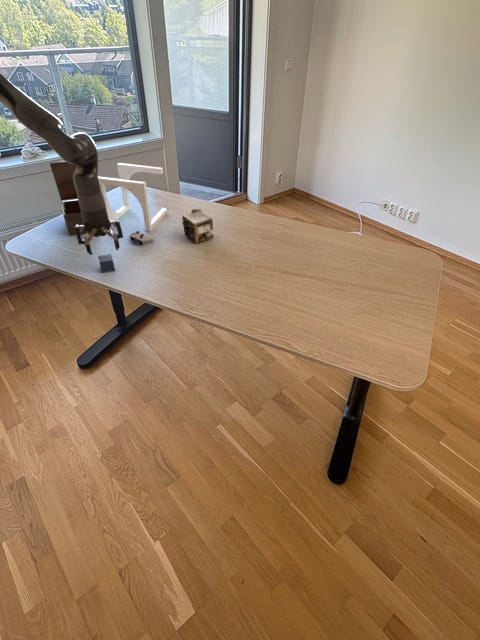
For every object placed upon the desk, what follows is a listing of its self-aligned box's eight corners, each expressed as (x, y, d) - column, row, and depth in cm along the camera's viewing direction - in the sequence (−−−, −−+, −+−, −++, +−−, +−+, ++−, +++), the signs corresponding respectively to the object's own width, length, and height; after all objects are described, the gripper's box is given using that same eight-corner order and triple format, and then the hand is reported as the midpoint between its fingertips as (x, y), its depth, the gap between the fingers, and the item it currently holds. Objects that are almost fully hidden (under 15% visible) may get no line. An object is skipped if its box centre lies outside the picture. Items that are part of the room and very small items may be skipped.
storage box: (99, 231, 144) (94, 211, 138) (69, 236, 140) (63, 215, 134) (95, 217, 153) (90, 197, 148) (67, 220, 150) (61, 201, 144)
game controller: (156, 238, 139) (146, 232, 134) (150, 250, 139) (140, 245, 134) (139, 231, 143) (129, 225, 138) (133, 243, 143) (124, 237, 138)
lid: (81, 160, 136) (80, 155, 139) (49, 163, 132) (48, 157, 135) (90, 197, 147) (89, 191, 150) (61, 200, 143) (60, 194, 146)
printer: (203, 227, 154) (201, 206, 148) (224, 251, 136) (223, 228, 130) (179, 231, 150) (176, 210, 144) (197, 257, 132) (195, 234, 126)
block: (102, 273, 121) (99, 262, 118) (100, 266, 124) (97, 256, 121) (115, 270, 122) (112, 260, 120) (113, 264, 125) (110, 253, 123)
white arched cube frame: (126, 207, 163) (118, 162, 150) (167, 212, 160) (162, 167, 147) (106, 225, 148) (95, 177, 135) (150, 231, 146) (143, 183, 132)
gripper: (114, 198, 113) (123, 242, 123) (67, 203, 108) (81, 249, 119) (118, 207, 108) (127, 252, 118) (69, 213, 103) (83, 260, 114)
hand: (104, 251), depth 119 cm, fingers open, 8 cm apart
